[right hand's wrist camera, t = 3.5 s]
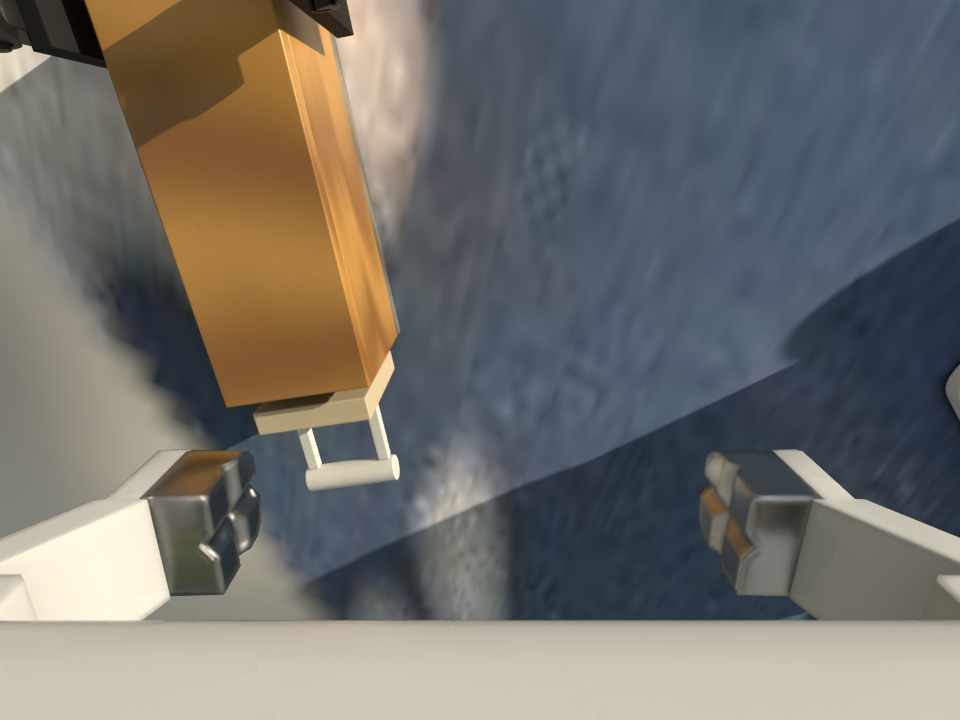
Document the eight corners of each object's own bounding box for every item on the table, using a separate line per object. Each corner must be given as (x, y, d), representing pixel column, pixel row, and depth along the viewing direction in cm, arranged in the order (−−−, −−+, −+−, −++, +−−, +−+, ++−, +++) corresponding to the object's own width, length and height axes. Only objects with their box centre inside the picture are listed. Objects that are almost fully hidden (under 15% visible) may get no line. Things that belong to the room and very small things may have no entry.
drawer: (412, 446, 35) (394, 511, 28) (326, 457, 35) (289, 525, 29) (311, 9, 27) (254, -38, 20) (201, 31, 27) (111, -8, 21)
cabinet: (400, 331, 33) (370, 388, 25) (290, 348, 34) (225, 409, 26) (312, -65, 27) (232, -163, 18) (177, -36, 27) (40, -119, 19)
